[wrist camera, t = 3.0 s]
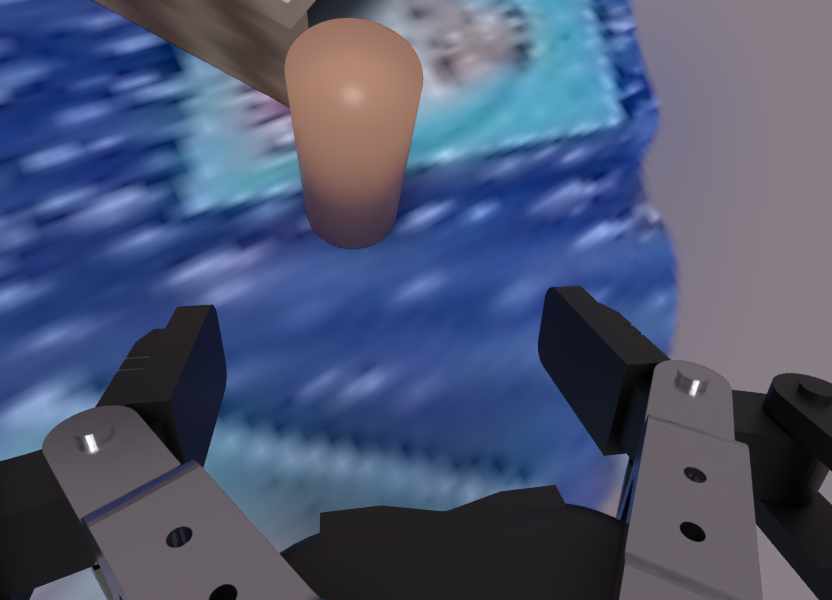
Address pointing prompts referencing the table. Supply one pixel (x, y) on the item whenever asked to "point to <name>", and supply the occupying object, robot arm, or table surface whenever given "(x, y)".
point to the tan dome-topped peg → (352, 125)
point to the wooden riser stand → (227, 34)
